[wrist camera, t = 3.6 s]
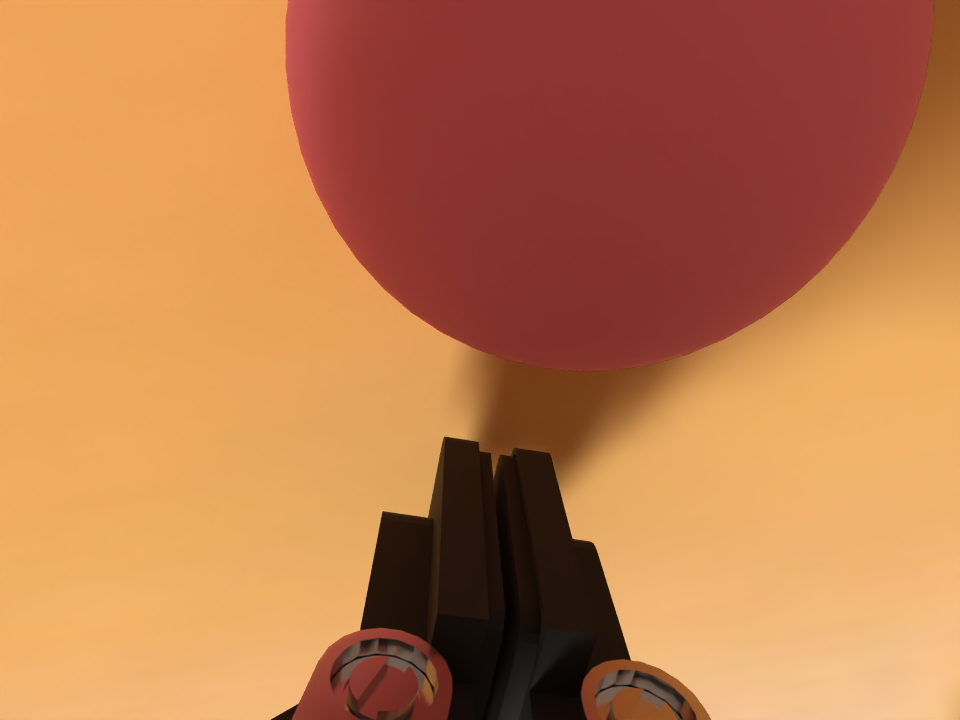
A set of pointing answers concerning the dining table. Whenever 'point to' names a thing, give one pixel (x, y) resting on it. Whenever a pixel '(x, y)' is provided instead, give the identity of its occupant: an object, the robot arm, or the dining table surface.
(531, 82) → the ball
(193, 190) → the dining table surface
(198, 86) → the dining table surface
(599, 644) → the robot arm
